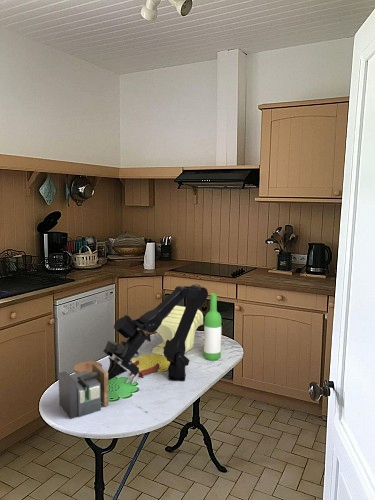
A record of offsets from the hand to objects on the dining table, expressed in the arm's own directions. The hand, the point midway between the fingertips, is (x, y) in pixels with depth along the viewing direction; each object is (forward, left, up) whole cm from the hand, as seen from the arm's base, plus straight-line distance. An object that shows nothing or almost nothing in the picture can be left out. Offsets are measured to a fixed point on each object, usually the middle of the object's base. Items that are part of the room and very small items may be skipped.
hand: (106, 380), depth 152 cm
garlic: (-2, -41, -8) cm, 42 cm away
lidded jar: (+10, -10, -8) cm, 16 cm away
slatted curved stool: (-20, -48, -8) cm, 52 cm away
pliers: (-7, -23, -8) cm, 25 cm away
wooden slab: (+4, +5, -7) cm, 9 cm away
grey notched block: (+8, +7, -7) cm, 13 cm away
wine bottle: (-38, -42, -8) cm, 57 cm away
